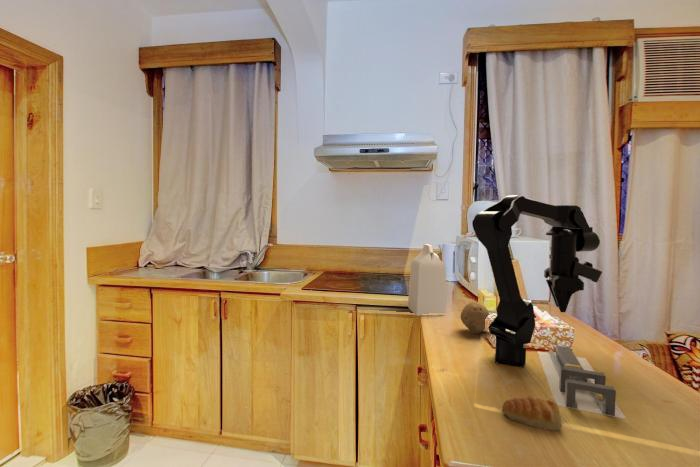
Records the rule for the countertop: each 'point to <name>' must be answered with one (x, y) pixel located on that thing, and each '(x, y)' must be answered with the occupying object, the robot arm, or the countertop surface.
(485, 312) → the brown coconut
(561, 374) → the base with arch frames
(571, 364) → the long grey bar
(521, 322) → the robot arm
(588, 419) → the countertop surface
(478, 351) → the countertop surface
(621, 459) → the countertop surface
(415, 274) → the milk
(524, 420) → the pastry
